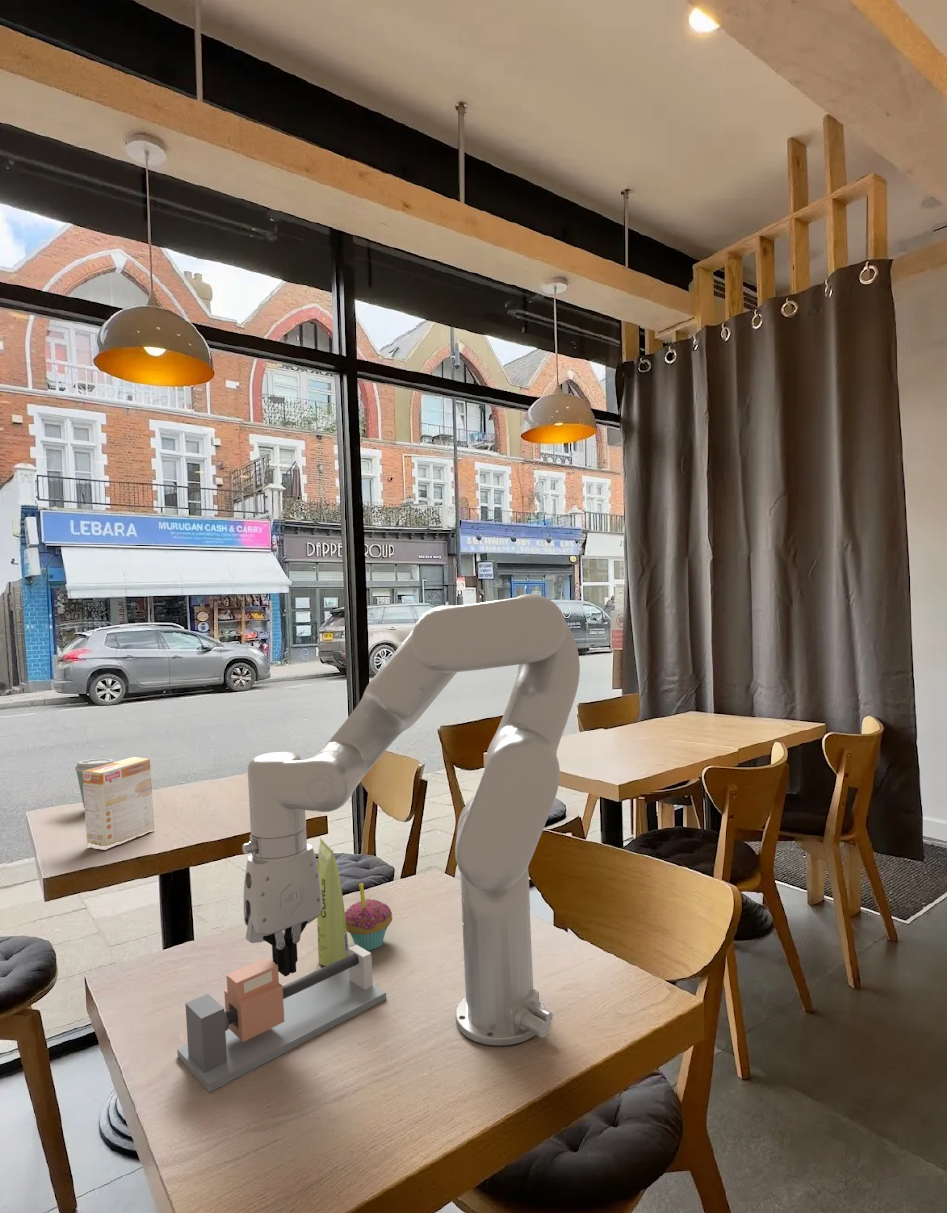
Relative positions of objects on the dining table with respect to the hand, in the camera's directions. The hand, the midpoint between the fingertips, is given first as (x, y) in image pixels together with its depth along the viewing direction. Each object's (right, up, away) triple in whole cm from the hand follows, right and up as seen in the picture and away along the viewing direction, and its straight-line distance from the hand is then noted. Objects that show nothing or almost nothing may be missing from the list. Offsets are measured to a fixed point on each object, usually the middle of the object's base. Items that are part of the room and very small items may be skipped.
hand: (285, 970), depth 102 cm
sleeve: (-3, -6, -3) cm, 7 cm away
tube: (+3, -7, +18) cm, 20 cm away
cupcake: (+8, -7, +23) cm, 25 cm away
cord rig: (0, -8, 0) cm, 8 cm away
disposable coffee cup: (-83, -9, +110) cm, 138 cm away
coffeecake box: (-63, -9, +83) cm, 105 cm away
